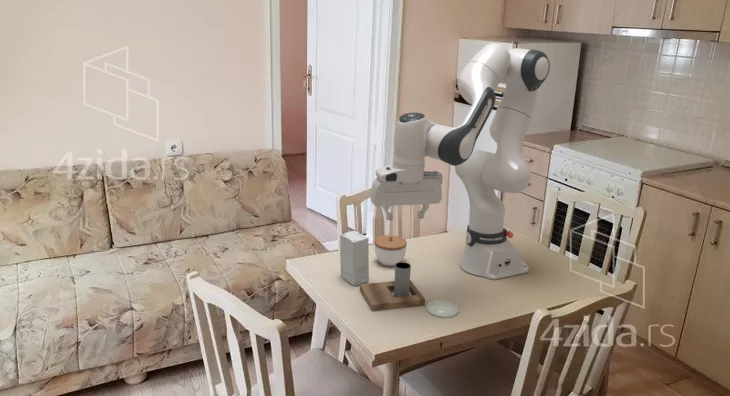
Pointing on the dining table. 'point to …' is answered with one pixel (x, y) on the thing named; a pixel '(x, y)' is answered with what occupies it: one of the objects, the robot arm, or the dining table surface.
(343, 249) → the skincare box
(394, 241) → the lidded jar
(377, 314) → the dining table surface
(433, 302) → the saucer
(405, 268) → the grey cylinder
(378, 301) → the pocket board
